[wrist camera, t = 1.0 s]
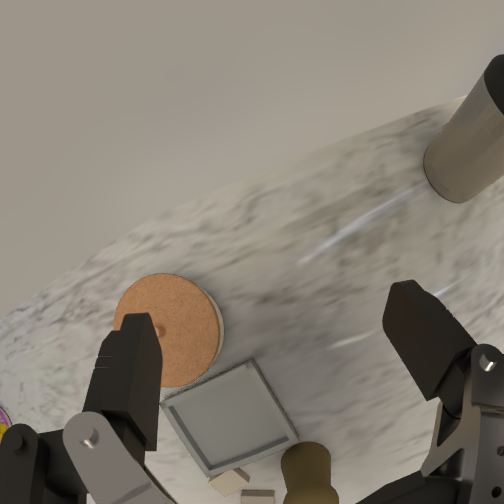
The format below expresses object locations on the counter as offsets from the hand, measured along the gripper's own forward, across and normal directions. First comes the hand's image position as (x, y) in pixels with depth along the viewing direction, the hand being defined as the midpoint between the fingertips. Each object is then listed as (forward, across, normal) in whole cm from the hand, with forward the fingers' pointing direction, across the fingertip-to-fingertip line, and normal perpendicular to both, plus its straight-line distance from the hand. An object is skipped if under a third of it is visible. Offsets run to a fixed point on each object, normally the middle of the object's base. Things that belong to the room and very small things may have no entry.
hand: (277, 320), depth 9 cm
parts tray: (+11, +3, +25) cm, 28 cm away
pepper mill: (+5, -5, +30) cm, 31 cm away
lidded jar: (+19, +6, +17) cm, 26 cm away
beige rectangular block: (+3, +1, +35) cm, 35 cm away
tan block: (+6, +4, +32) cm, 33 cm away
